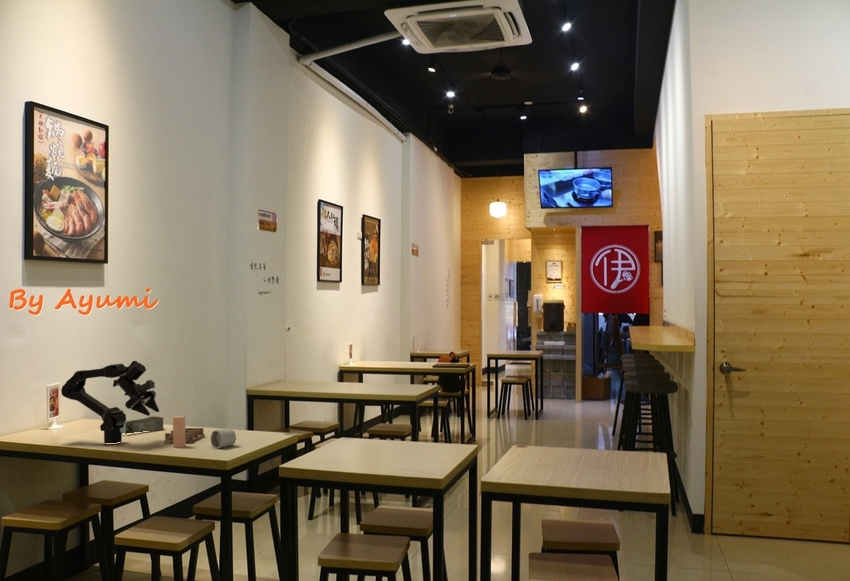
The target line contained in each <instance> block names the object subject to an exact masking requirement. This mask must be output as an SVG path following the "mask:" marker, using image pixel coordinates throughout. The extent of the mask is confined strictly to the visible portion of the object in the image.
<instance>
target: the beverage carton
mask: <svg viewBox="0 0 850 581" xmlns="http://www.w3.org/2000/svg"><path fill="white" fill-rule="evenodd" d="M161 429H163V430H164V417H163V416H157V415H156V416H149V417H148V416H147V417H144V418H138V419H133V420H126V422H125V423H124V426H123V428H120V432H122V433H125V434H127V433H134V432H143V431H153V430H159V431H162V430H161ZM153 432H154V431H153Z"/></svg>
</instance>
